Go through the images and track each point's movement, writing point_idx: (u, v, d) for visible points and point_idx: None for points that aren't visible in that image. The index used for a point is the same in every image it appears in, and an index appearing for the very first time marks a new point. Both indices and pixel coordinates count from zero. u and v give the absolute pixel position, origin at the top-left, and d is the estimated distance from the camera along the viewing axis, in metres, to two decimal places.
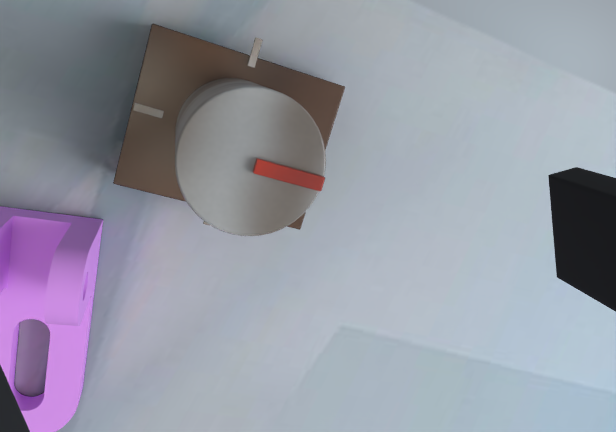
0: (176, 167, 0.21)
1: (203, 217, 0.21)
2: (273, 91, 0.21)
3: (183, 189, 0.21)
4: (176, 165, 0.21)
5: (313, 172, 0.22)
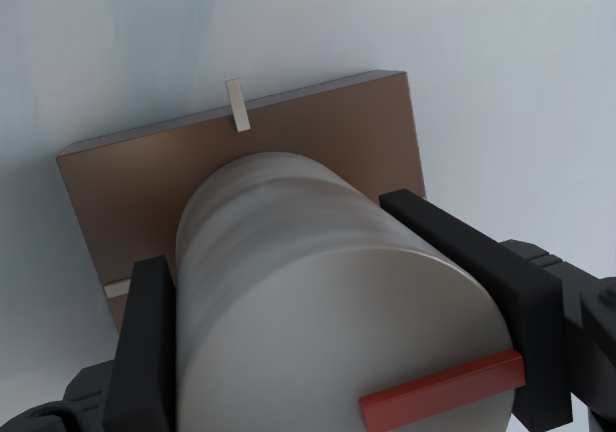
0: None
1: None
2: (321, 255, 0.08)
3: None
4: None
5: (489, 353, 0.09)
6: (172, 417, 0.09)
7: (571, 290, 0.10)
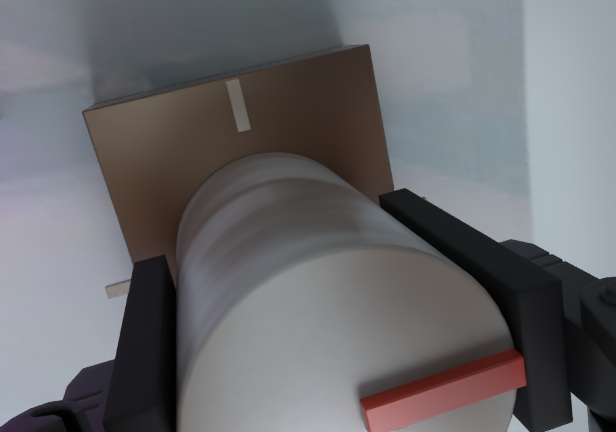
0: None
1: None
2: (321, 256, 0.08)
3: None
4: None
5: (490, 353, 0.09)
6: (172, 417, 0.09)
7: (572, 290, 0.10)
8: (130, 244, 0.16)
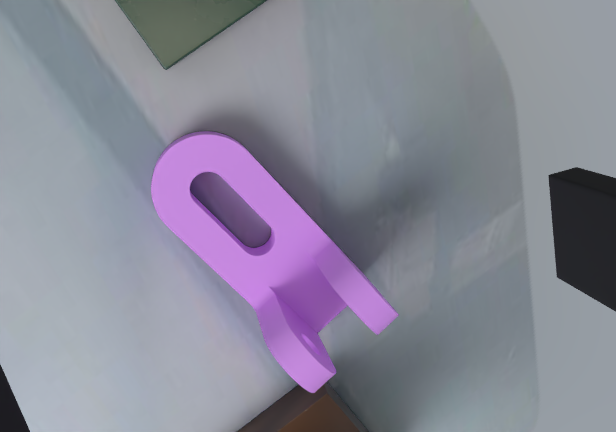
0: None
1: None
2: None
3: None
4: None
5: None
6: None
7: None
8: None
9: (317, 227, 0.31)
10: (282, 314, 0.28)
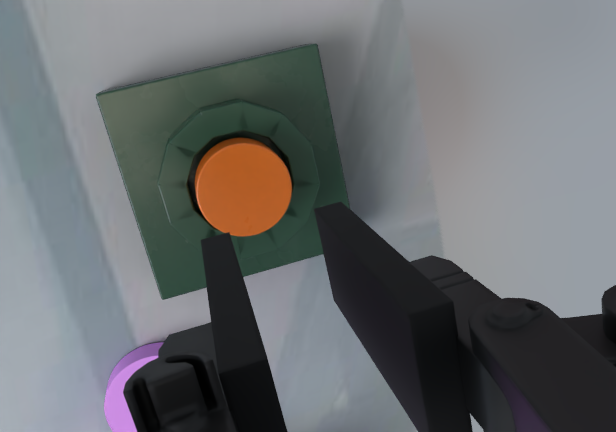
0: None
1: None
2: None
3: None
4: None
5: None
6: None
7: (472, 309, 0.10)
8: None
9: None
10: None
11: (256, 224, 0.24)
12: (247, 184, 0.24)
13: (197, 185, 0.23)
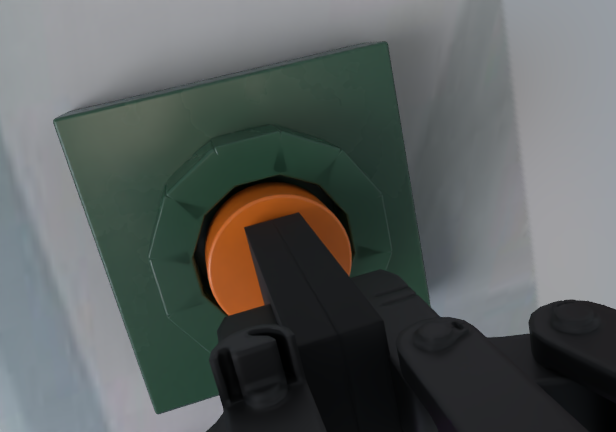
0: None
1: None
2: None
3: None
4: None
5: None
6: None
7: None
8: None
9: None
10: None
11: None
12: None
13: (209, 260, 0.15)
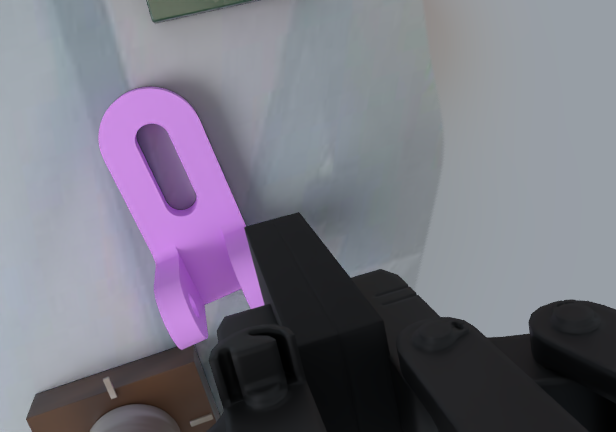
0: None
1: None
2: None
3: None
4: None
5: None
6: None
7: None
8: (131, 384, 0.34)
9: (237, 209, 0.33)
10: (178, 271, 0.31)
11: None
12: None
13: None
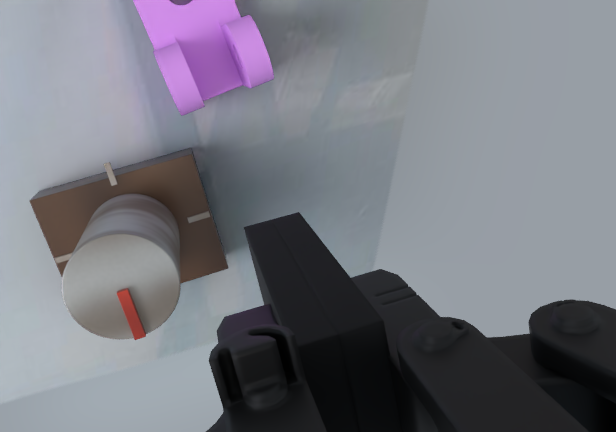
0: (85, 244, 0.27)
1: (63, 281, 0.27)
2: (176, 270, 0.29)
3: (73, 257, 0.27)
4: (86, 244, 0.27)
5: (144, 326, 0.29)
6: None
7: None
8: (131, 173, 0.35)
9: (234, 3, 0.35)
10: None
11: None
12: None
13: None
